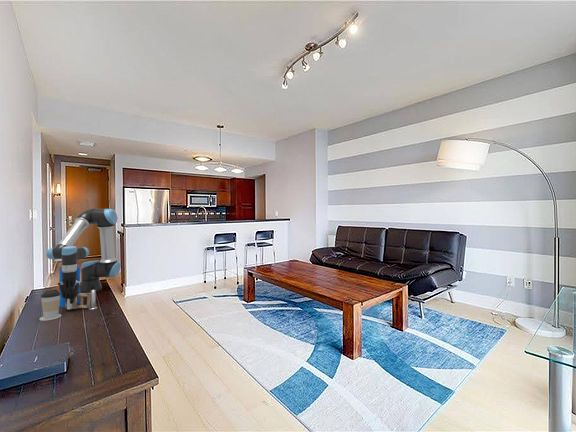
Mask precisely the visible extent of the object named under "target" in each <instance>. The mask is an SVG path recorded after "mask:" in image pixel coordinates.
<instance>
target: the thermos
mask: <svg viewBox="0 0 576 432" xmlns="http://www.w3.org/2000/svg"><path fill="white" fill-rule="evenodd" d="M76 271H77V277H76V278H77V281H78V282H81V266H79V265H77V270H76ZM62 272H63V271H62V267H59V272H58V275H59V278H58V279H59V282H61V281H62V279H63V278H62ZM59 282H58V283H59ZM75 284H76V283H75ZM58 287H59V286H58ZM74 288H75V286H74ZM58 292H60V294H61V291H60V287H59V289H58ZM79 293H80V286H79V290H78V294H79ZM72 305H73V303H72ZM77 305H80V296H79V297H77ZM59 308H65V298H62V295H60V306H59Z"/></svg>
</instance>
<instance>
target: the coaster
mask: <svg viewBox="0 0 576 432" xmlns="http://www.w3.org/2000/svg"><path fill="white" fill-rule="evenodd" d="M61 317H62V314H61V313H59V314H58V316H57V317H55V318H50V319H44V318H43V316H41V317H39V321H41V322H44V321H45V322H47V321H48V322H49V321H53V320H56V319H59V318H61Z"/></svg>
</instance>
